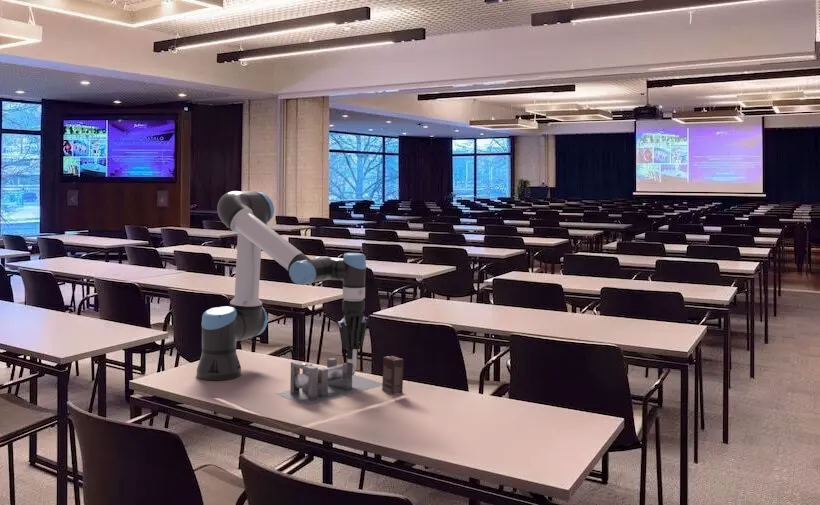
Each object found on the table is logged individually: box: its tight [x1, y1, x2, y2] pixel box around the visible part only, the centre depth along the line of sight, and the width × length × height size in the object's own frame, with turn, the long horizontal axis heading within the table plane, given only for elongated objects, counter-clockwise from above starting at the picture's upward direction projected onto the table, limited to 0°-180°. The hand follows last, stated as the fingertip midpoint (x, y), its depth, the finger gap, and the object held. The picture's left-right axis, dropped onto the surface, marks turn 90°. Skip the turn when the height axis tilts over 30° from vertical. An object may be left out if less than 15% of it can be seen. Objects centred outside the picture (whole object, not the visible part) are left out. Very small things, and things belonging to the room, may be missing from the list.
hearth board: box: [276, 374, 382, 407], centre depth 226 cm, size 16×34×1 cm, turn 138°
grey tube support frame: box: [326, 357, 352, 391], centre depth 227 cm, size 10×2×9 cm, turn 48°
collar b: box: [302, 362, 328, 398], centre depth 220 cm, size 10×2×9 cm, turn 48°
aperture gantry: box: [289, 360, 319, 401], centre depth 216 cm, size 11×2×10 cm, turn 48°
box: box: [381, 355, 404, 395], centre depth 225 cm, size 6×4×12 cm
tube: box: [295, 364, 356, 388], centre depth 223 cm, size 5×22×5 cm, turn 138°
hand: (352, 367), depth 232 cm, fingers closed
